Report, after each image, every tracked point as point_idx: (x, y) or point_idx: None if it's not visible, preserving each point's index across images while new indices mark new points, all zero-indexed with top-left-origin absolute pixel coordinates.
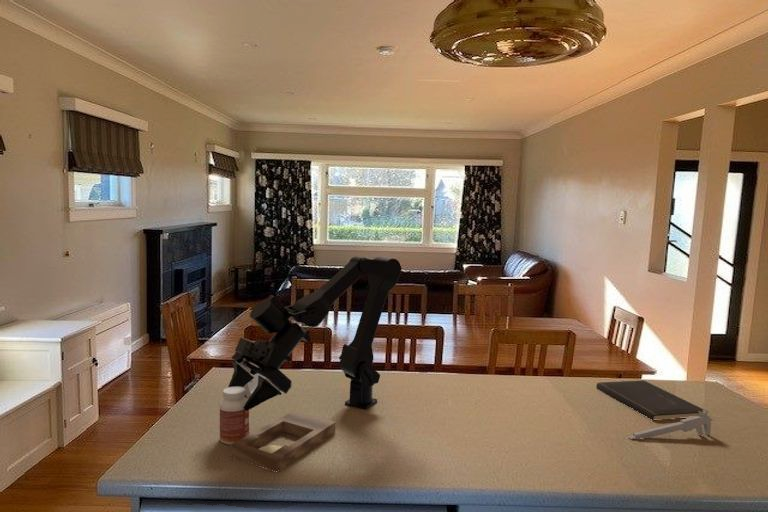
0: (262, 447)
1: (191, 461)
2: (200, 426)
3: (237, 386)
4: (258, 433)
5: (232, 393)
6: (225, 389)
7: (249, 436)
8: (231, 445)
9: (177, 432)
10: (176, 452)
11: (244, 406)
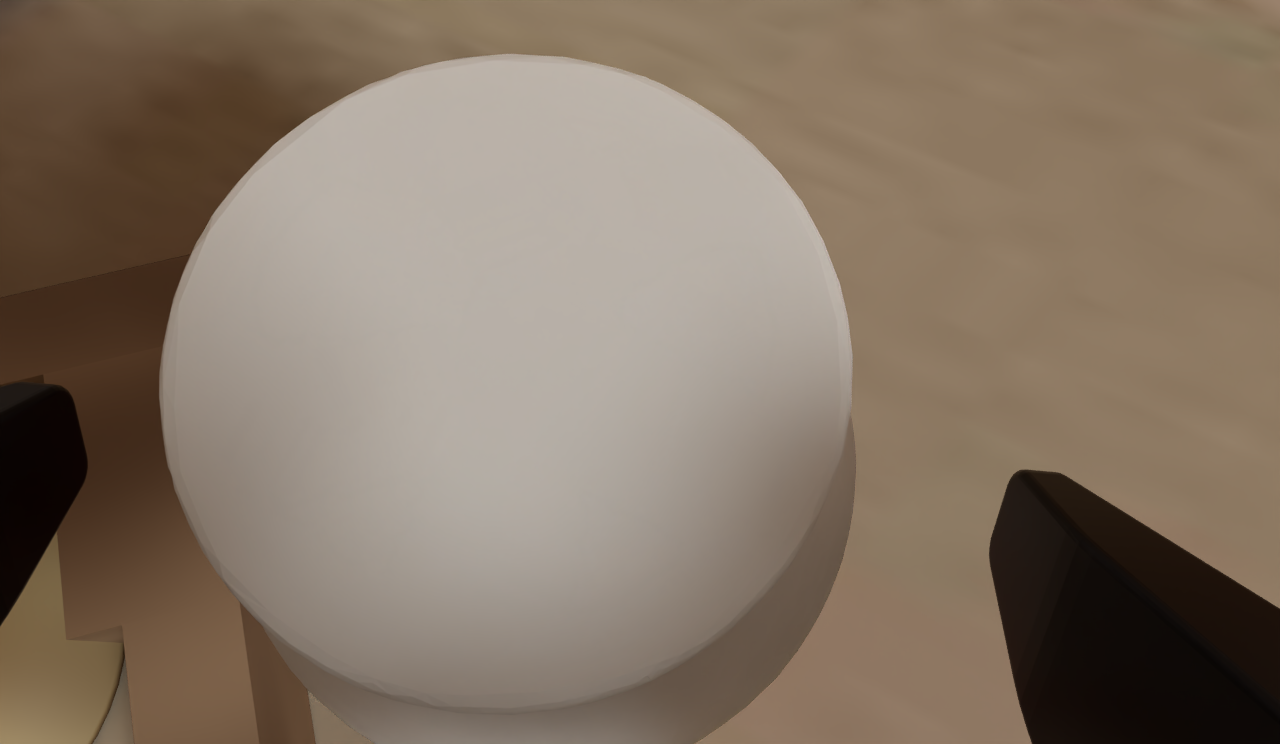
0: (104, 666)
1: (453, 25)
2: (1159, 418)
3: (730, 585)
4: (160, 687)
5: (273, 151)
6: (729, 176)
7: (185, 538)
8: (177, 260)
9: (1144, 177)
10: (713, 6)
11: (17, 392)
